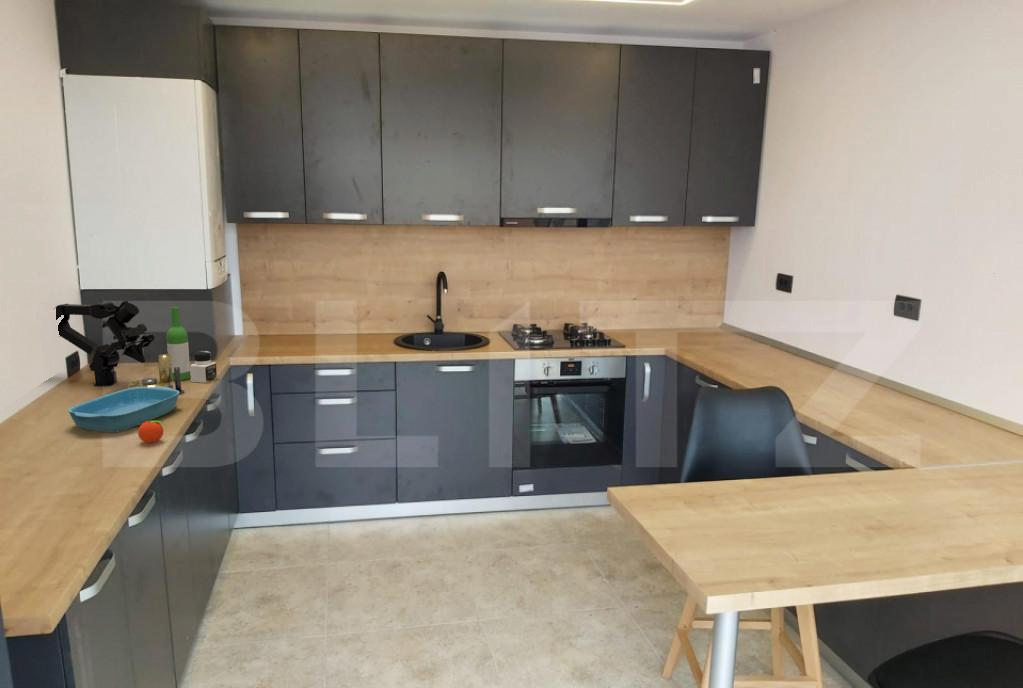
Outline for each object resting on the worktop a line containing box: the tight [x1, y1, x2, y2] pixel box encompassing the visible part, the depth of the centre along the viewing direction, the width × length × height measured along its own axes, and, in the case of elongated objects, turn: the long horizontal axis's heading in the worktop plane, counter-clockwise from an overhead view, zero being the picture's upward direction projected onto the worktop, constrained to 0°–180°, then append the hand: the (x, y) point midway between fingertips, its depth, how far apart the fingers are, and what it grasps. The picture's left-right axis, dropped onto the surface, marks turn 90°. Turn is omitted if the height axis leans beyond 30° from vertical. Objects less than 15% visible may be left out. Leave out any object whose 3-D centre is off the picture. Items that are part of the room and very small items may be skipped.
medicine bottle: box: [190, 350, 218, 384], centre depth 279 cm, size 7×7×12 cm
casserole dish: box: [68, 387, 180, 433], centre depth 232 cm, size 37×22×7 cm, turn 168°
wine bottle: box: [166, 306, 191, 382], centre depth 278 cm, size 8×8×30 cm
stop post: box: [174, 367, 185, 395], centre depth 261 cm, size 4×4×10 cm
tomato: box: [137, 420, 168, 444], centre depth 211 cm, size 8×7×7 cm
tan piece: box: [127, 353, 174, 389], centre depth 256 cm, size 14×15×12 cm
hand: (143, 362), depth 264 cm, fingers closed
